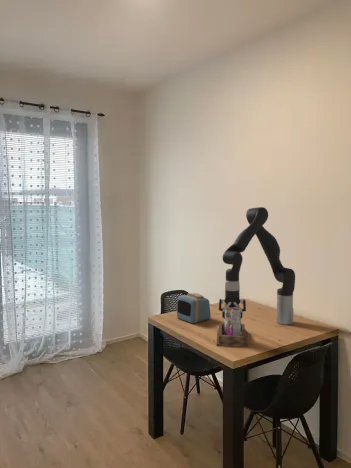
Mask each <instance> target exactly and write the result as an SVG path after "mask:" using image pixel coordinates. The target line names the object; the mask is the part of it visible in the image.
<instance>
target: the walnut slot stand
mask: <svg viewBox="0 0 351 468" xmlns="http://www.w3.org/2000/svg"><path fill="white" fill-rule="evenodd" d="M216 329H217V330H216V347H217V346H218V347H219V346H220V347H240V348H241V347H243V348H248V347H249V340H248V335H247V333H248V332H247V329H246V327H245V323H241V336H231V335H226V334H225V333H224V323H223V322H219V323H218V328H216Z"/></svg>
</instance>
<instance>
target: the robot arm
mask: <svg viewBox="0 0 351 468" xmlns="http://www.w3.org/2000/svg"><path fill="white" fill-rule="evenodd" d="M245 213H246V215H245V217H246V220H247V222H248V224H249V225H248V226H247V227H245V229H243V230H242V231H241V232H240V233H239V234H238V235H237V237H236V239H235V240H234V242H233V243H232V244H231V245H230V246H229V247H228V248H226V249H225V251H224V252H223V255H222V261H223V263H224V264H227V265H231V268H227V269H226V271H225V284H224V292H225V294H224V299H222V298H219V301H218V302H219V303H218V311H221V314H222V316H221V317H222V318H223V319H225V310H226V309H227V308H228V307H238V308H240V309H241V319H243V313H244V312H246V311H247V306H246V304H247V303H246V299H245V298H243V299H240V289H241V288H240V272H241V271H240V270H241V267H242V264H243V261H244V260H243V255H242V254H241V253H244V252H245V251H246V250H247V248H248V245H249V244H250V242H251V241H252V239H253V238H254V237H255V236H256V237H257V240H258V242H259V244H260V247H261V248H262V251H263V252H264V254H265V256H266V258H267V261H268V263H269V265H270V268H271V270H272V273H273V277H274V278H275V281H277V282H278V283H281V284H282V285H281V286H282V287H281V288H277V290H276V323H277V324H280V325H286V326H287V325H294V291H295V287H296V273H295V271H294V270H293V269H292V268H290V267H284V265H283V264H282V261H281V258H280V255H281V248H280V247H281V246H280V245H279V243H278V241H277V239H276V237H275V236H274V235H273V234H272V233H271V232H270V231H268V230H267V229H266V228H265V227H264V225H265V224H266V223H267V221H268V219H269V211H268V210H267V208H265V207H262V206H260V207H258V206H257V207H253V208H252V207H251V208H249V209H247V210H246V212H245ZM240 303H241V304H242V306H243V307H241V306H240ZM222 304H226V305H225V306H224V305H223V308H222Z"/></svg>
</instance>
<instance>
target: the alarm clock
mask: <svg viewBox="0 0 351 468" xmlns="http://www.w3.org/2000/svg"><path fill="white" fill-rule="evenodd" d="M176 305H177V306H176V317H177V318H178V319H180V320H181V321H184V322H187V323H190V324H195V323H200V322H203V321H207V320H209V319H211V315H212V314H211V306H210V305H211V304H210V300H209V299H208V297H207V298H206V297H205V296H204V295H202V294H200V293H196V292H191V293H187V294H185V295H183V294H182V295H179V296H178V297H177V302H176Z"/></svg>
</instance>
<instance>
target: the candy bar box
mask: <svg viewBox="0 0 351 468" xmlns="http://www.w3.org/2000/svg"><path fill="white" fill-rule="evenodd" d="M223 304H224V305H223V307H224V306H225V305H226V303H223ZM241 309H242V308H241ZM241 309H240V308H238V307H228V308H227V309H226V310H225V319H224V318H223V319H224V321H223V322H224V333H225V334H226V335H231V336H241V324H242V318H241Z"/></svg>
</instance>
